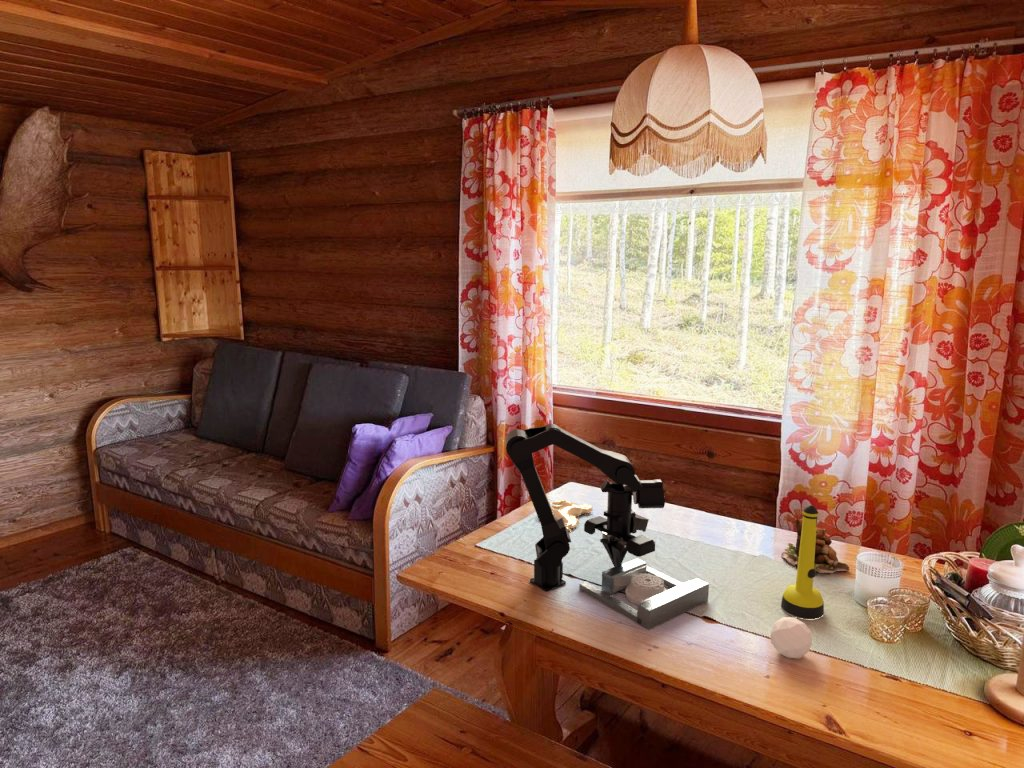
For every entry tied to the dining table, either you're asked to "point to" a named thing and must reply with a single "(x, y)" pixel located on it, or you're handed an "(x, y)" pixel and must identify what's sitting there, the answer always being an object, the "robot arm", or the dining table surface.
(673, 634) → the dining table surface
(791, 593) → the flashlight
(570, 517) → the unicorn
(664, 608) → the vise
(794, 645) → the ball
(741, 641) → the dining table surface
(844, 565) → the mossy log pile
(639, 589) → the mechanical component
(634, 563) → the block
